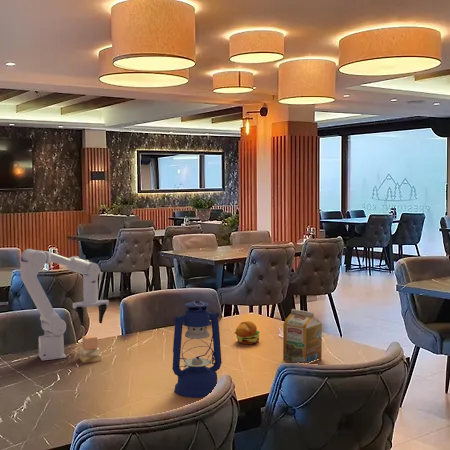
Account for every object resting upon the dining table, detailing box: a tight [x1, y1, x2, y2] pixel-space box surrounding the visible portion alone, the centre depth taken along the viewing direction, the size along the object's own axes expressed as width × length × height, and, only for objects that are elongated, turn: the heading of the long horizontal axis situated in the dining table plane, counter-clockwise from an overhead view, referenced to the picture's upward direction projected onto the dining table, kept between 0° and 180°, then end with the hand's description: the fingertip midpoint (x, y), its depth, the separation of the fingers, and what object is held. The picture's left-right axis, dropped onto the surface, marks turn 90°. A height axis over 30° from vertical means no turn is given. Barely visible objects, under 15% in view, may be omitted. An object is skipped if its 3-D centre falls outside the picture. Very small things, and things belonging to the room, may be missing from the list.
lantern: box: [171, 300, 223, 399], centre depth 203 cm, size 17×15×30 cm
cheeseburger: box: [234, 320, 261, 345], centre depth 263 cm, size 10×11×10 cm
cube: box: [81, 334, 98, 350], centre depth 238 cm, size 4×4×4 cm
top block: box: [79, 346, 101, 358], centre depth 238 cm, size 6×6×2 cm
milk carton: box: [282, 308, 323, 364], centre depth 237 cm, size 11×11×19 cm
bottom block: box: [78, 352, 102, 364], centre depth 239 cm, size 7×7×2 cm
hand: (91, 323), depth 253 cm, fingers open, 7 cm apart
